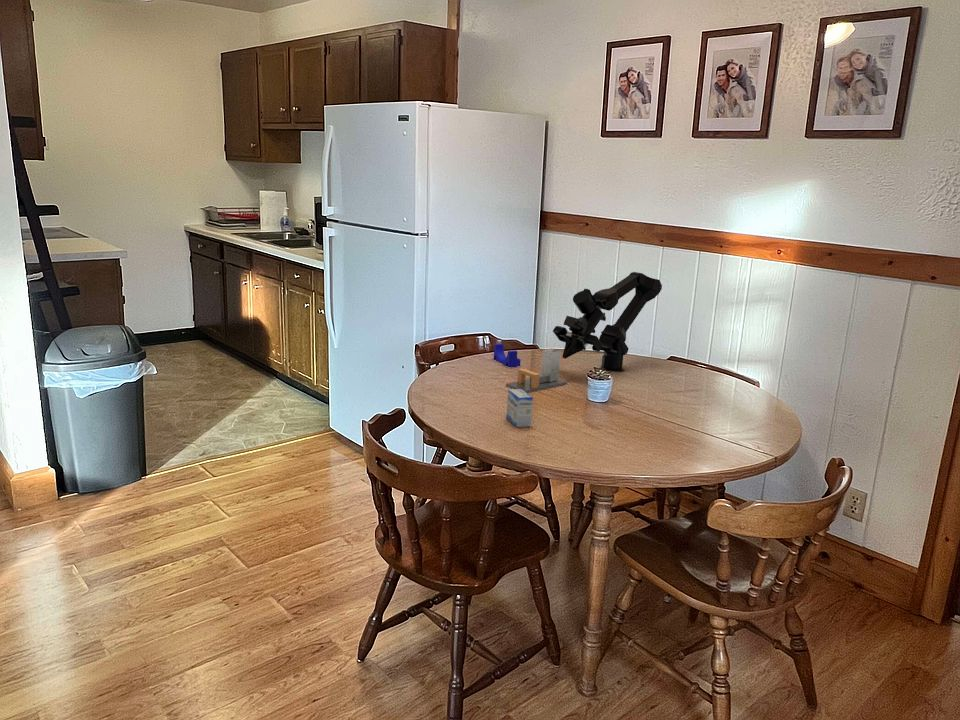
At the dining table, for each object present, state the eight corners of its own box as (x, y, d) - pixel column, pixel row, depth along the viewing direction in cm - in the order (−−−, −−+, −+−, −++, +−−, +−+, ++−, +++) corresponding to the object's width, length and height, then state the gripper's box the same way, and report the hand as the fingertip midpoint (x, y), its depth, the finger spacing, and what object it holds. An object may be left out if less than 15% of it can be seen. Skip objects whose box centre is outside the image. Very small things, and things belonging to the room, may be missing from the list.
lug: (521, 381, 246) (522, 368, 245) (538, 387, 240) (539, 374, 239) (517, 382, 245) (518, 369, 244) (534, 388, 239) (535, 375, 238)
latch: (549, 377, 251) (551, 348, 249) (558, 380, 248) (560, 351, 246) (528, 381, 245) (530, 352, 242) (536, 384, 242) (538, 354, 240)
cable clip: (520, 367, 266) (521, 351, 265) (508, 368, 264) (509, 352, 263) (504, 359, 277) (505, 343, 275) (493, 360, 275) (494, 344, 273)
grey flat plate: (547, 377, 254) (547, 375, 254) (566, 384, 248) (567, 381, 248) (505, 386, 242) (505, 383, 242) (525, 393, 236) (525, 391, 236)
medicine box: (505, 418, 212) (507, 389, 210) (520, 417, 214) (522, 388, 211) (516, 427, 205) (518, 397, 203) (531, 426, 207) (533, 396, 204)
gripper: (558, 302, 257) (533, 337, 252) (599, 312, 243) (573, 349, 239) (572, 322, 264) (548, 357, 259) (613, 333, 250) (588, 369, 246)
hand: (563, 357), depth 251 cm, fingers closed
